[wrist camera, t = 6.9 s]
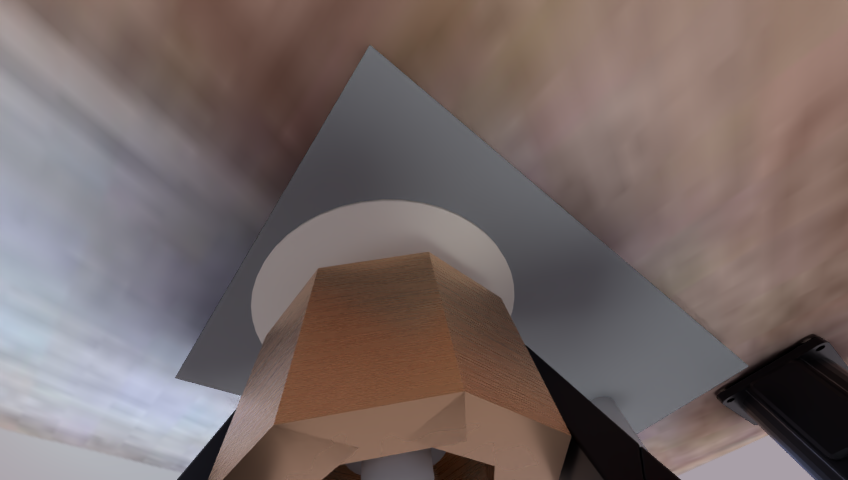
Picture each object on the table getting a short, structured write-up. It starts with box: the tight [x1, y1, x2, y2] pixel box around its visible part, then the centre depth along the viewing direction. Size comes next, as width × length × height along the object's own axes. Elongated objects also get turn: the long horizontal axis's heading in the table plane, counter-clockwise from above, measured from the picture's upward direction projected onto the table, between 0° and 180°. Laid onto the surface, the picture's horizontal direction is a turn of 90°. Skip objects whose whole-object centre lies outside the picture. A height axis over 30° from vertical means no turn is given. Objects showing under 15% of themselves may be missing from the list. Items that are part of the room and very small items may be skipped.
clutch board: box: [175, 45, 748, 480], centre depth 12 cm, size 23×13×7 cm, turn 52°
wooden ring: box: [208, 252, 571, 480], centre depth 8 cm, size 7×7×4 cm
